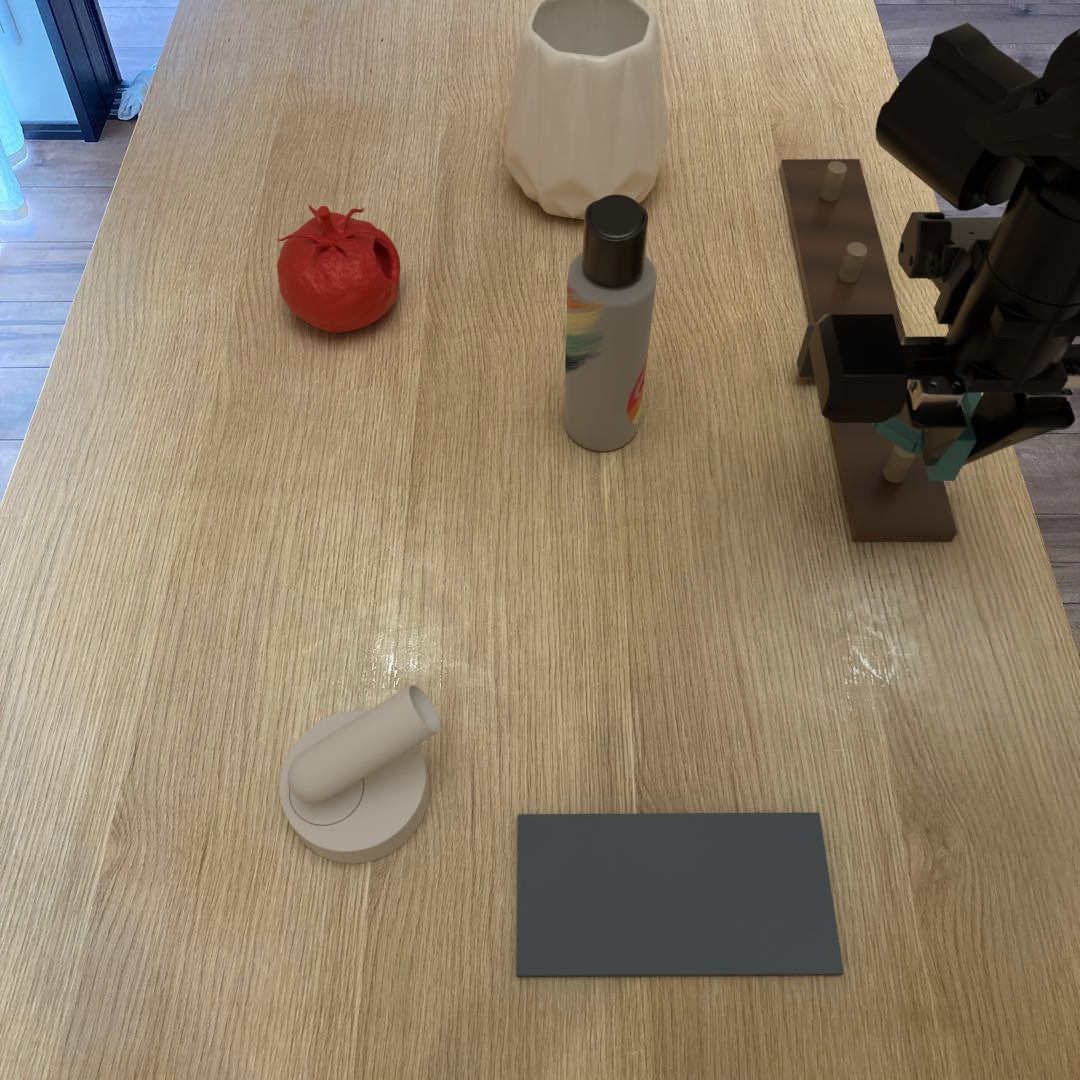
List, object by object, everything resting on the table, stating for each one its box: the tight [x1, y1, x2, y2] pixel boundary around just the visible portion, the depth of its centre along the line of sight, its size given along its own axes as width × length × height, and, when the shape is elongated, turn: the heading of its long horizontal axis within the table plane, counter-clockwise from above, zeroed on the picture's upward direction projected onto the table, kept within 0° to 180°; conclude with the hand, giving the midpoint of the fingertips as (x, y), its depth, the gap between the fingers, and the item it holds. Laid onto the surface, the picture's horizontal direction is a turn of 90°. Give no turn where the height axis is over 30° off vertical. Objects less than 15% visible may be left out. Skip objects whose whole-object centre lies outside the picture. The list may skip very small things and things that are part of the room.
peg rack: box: [779, 158, 958, 543], centre depth 81 cm, size 40×7×4 cm, turn 0°
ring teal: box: [872, 393, 983, 482], centre depth 64 cm, size 9×7×4 cm
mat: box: [516, 811, 845, 978], centre depth 59 cm, size 18×9×1 cm, turn 90°
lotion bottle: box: [563, 195, 657, 452], centre depth 70 cm, size 6×6×20 cm
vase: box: [504, 0, 670, 221], centre depth 87 cm, size 14×14×15 cm
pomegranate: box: [275, 204, 401, 334], centre depth 81 cm, size 10×10×9 cm
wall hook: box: [279, 683, 442, 865], centre depth 59 cm, size 9×10×10 cm
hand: (942, 459), depth 63 cm, fingers closed on ring teal, 2 cm apart
